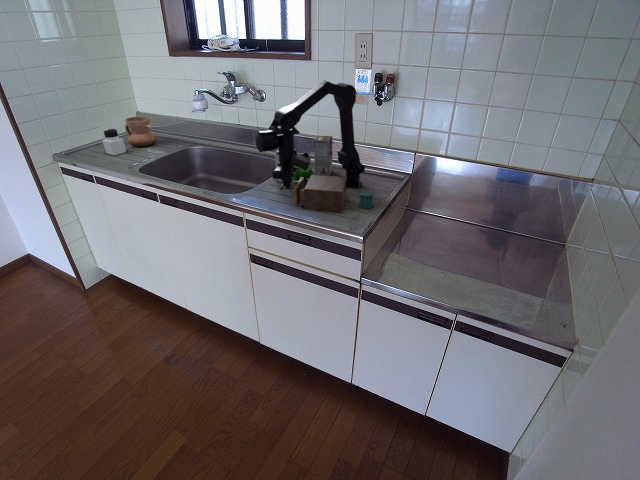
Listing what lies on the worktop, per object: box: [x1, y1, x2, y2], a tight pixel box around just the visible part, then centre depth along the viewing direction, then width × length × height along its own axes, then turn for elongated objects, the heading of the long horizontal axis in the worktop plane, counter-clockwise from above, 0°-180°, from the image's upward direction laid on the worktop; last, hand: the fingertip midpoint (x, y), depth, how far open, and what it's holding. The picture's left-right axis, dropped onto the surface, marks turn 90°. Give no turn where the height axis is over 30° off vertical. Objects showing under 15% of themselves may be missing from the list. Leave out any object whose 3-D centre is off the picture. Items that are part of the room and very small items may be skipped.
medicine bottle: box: [101, 128, 127, 156], centre depth 190 cm, size 7×7×12 cm
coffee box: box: [313, 135, 333, 176], centre depth 161 cm, size 9×6×16 cm
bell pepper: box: [292, 165, 314, 188], centre depth 150 cm, size 8×8×10 cm
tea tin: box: [359, 190, 374, 210], centre depth 135 cm, size 5×5×5 cm
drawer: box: [279, 177, 309, 207], centre depth 138 cm, size 18×13×6 cm
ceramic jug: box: [124, 116, 157, 148], centre depth 202 cm, size 18×14×14 cm
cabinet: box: [303, 174, 347, 213], centre depth 137 cm, size 14×14×8 cm
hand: (288, 188), depth 138 cm, fingers closed
